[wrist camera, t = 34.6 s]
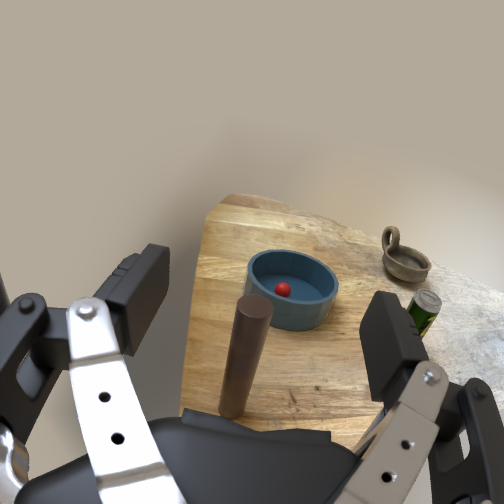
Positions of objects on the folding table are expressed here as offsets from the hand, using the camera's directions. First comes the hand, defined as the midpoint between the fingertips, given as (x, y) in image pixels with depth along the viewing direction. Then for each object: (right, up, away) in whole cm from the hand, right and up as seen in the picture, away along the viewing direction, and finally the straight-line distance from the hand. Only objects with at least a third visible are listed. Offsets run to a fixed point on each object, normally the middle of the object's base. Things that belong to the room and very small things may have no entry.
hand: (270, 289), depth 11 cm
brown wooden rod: (-3, -19, +23) cm, 30 cm away
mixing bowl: (+6, -8, +45) cm, 46 cm away
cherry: (+5, -6, +44) cm, 45 cm away
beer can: (+26, -16, +37) cm, 48 cm away
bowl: (+37, -4, +62) cm, 73 cm away
